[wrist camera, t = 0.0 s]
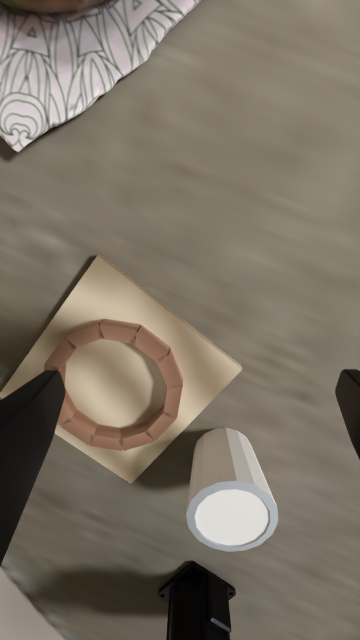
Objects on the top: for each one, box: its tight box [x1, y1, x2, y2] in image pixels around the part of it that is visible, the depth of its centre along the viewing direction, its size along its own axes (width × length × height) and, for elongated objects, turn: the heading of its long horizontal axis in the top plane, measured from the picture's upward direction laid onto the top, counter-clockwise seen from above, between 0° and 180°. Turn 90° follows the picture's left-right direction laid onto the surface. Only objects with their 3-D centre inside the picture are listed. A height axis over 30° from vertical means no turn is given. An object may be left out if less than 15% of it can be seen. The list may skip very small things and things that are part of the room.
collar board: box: [0, 255, 242, 484], centre depth 26 cm, size 16×15×2 cm
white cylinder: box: [186, 428, 278, 552], centre depth 25 cm, size 7×7×7 cm
